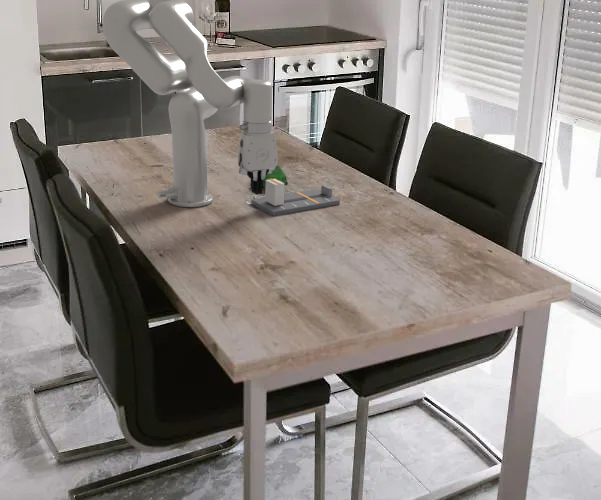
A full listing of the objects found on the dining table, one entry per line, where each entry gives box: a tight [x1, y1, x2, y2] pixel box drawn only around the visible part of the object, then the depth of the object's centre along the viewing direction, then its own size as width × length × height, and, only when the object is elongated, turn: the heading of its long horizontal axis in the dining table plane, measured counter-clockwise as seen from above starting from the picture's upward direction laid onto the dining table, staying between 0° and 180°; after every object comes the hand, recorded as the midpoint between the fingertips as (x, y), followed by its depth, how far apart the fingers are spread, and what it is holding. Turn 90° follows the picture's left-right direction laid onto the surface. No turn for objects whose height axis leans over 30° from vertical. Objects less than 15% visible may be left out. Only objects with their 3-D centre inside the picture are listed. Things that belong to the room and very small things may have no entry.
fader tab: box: [264, 179, 285, 206], centre depth 249 cm, size 3×5×6 cm, turn 33°
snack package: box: [263, 164, 289, 189], centre depth 269 cm, size 7×16×5 cm, turn 12°
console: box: [250, 184, 341, 217], centre depth 253 cm, size 22×12×4 cm, turn 123°
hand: (256, 192), depth 245 cm, fingers closed
